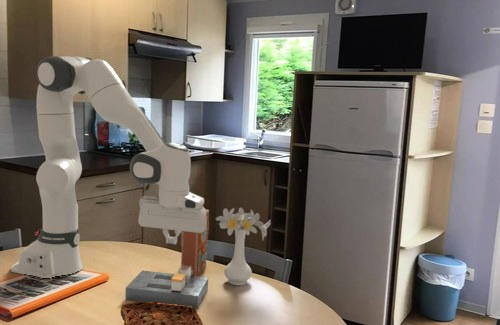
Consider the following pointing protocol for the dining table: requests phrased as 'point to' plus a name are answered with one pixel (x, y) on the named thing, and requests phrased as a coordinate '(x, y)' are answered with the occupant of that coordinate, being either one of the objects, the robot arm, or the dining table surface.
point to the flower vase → (240, 242)
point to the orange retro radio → (195, 249)
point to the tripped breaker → (178, 282)
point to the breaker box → (167, 288)
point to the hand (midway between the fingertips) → (171, 243)
